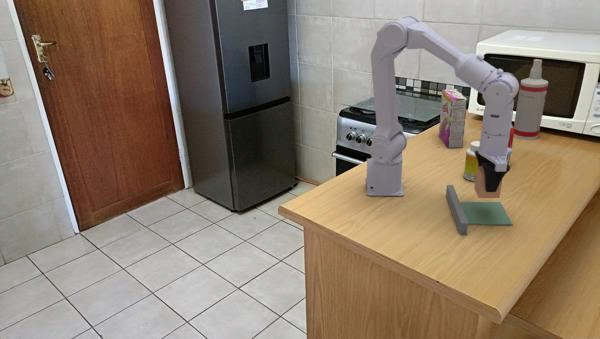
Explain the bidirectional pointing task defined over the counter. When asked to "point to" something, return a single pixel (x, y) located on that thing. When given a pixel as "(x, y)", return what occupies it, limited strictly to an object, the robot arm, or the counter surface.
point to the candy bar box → (452, 118)
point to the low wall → (457, 210)
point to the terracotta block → (481, 185)
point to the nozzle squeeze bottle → (530, 104)
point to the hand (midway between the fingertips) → (487, 186)
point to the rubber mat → (485, 213)
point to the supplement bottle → (471, 161)
